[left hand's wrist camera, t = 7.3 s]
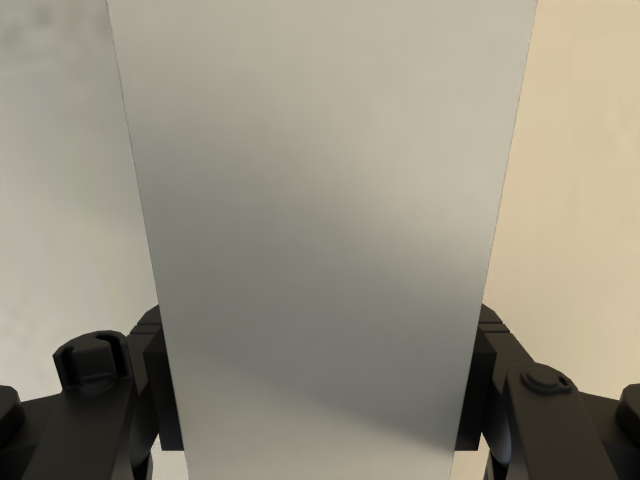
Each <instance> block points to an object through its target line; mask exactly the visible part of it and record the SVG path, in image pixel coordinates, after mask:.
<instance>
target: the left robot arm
mask: <svg viewBox="0 0 640 480" xmlns="http://www.w3.org/2000/svg"><path fill="white" fill-rule="evenodd" d="M52 356H53V359H54V362H55V366H56V369H57V372H58V376H59V379H60V382H61V385H62V392H61V393H59V394H56V395H52V396H47V397H43V398H38V399H33V400H29V401H24V402H21V401H20V398H19V396H18V393H17V391H16V390H15V389H14V388H12V387H11V386H3V385H0V480H152V472H153V461H152V455H151V450H150V449H151V447H152V445H153V443H154V441H155V439H156V437H157V435H158V433H159V438H160V443H161V448H162V451H184V446H183V440H182V434H181V429H180V423H179V417H178V411H177V406H176V400H175V394H174V388H173V383H172V377H171V371H170V365H169V360H168V354H167V348H166V342H165V337H164V331H163V325H162V319H161V314H160V308H159V304H158V305H157V306H155V307H153V308H152V309H150V310H149V311H147V312H146V313H145V314H144V315H143V317H142V318H141V319H140V320H139V322H138V323H137V325H135V327H134V328H133V329H132V330H131V332H130V335H127V337H126V336H124V335H123V334H122V333H121V332H117V331H112V330H106V331H96V332H91V333H87V334H84V335H81V336H79V337H76V338H74V339H72V340H70V341H68V342H67V343H65V344H64V345H62V346H61V347H59V348H58V350H57V351H56V352H55V353H54V354H53V355H52ZM481 431H482V433H483V436H484V438H485V440H486V442H487V444H488V446H489V448H490V450H489V455H488V460H487V464H486V469H485V474H484V478H483V480H640V383H639V384H631V385H628V386H627V387H626V388H624V389H623V392H622V394H621V397H620V400H615V399H610V398H605V397H601V396H596V395H591V394H587V393H583V392H580V391H578V389H577V387H576V386H575V385H574V383H573V382H572V381H571V379H569V378H568V377H567V376H565V375H564V374H563V373H561V372H560V371H558V370H556V369H554V368H552V367H549V366H547V365H544V364H540V363H536V362H534V360H533V359H532V358H531V357H530V355H529V354H528V353H527V352H526V350H525V349H524V348H523V347H522V345H521V344H520V343H519V342H518V340H517V339H516V338H515V337H514V335H513V334H512V333H510V330H509V329H508V328H507V327H506V325H505V324H503V322H502V320H501V319H500V318H499V317H498V315H497V314H496V313H495V312H494V311H493V310H492V309H490V308H488V307H487V306H485V305H484V304H482V305H481V310H480V315H479V321H478V326H477V332H476V337H475V342H474V348H473V353H472V359H471V364H470V370H469V375H468V380H467V386H466V391H465V397H464V402H463V407H462V413H461V418H460V424H459V429H458V434H457V440H456V445H455V451H478V446H479V441H480V436H481Z"/></svg>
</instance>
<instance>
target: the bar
mask: <svg viewBox="0 0 640 480" xmlns="http://www.w3.org/2000/svg"><path fill="white" fill-rule="evenodd" d="M537 2H538V0H106V3H107V9H108V15H109V21H110V26H111V32H112V38H113V44H114V49H115V55H116V61H117V67H118V72H119V78H120V84H121V90H122V95H123V101H124V107H125V112H126V118H127V124H128V130H129V135H130V141H131V147H132V153H133V158H134V164H135V170H136V176H137V181H138V187H139V193H140V199H141V204H142V210H143V216H144V222H145V227H146V233H147V239H148V245H149V250H150V256H151V262H152V268H153V273H154V279H155V285H156V291H157V296H158V302H159V308H160V314H161V319H162V325H163V331H164V337H165V342H166V348H167V354H168V360H169V365H170V371H171V377H172V383H173V388H174V394H175V400H176V406H177V411H178V417H179V423H180V429H181V434H182V440H183V446H184V452H185V457H186V463H187V469H188V475H189V480H449V478H450V472H451V467H452V461H453V456H454V451H455V445H456V440H457V434H458V429H459V424H460V418H461V413H462V407H463V402H464V397H465V391H466V386H467V380H468V375H469V370H470V364H471V359H472V353H473V348H474V342H475V337H476V332H477V326H478V321H479V315H480V310H481V305H482V299H483V294H484V288H485V283H486V278H487V272H488V267H489V261H490V256H491V251H492V245H493V240H494V234H495V229H496V223H497V218H498V213H499V207H500V202H501V196H502V191H503V186H504V180H505V175H506V169H507V164H508V159H509V153H510V148H511V142H512V137H513V132H514V126H515V121H516V115H517V110H518V105H519V99H520V94H521V88H522V83H523V77H524V72H525V67H526V61H527V56H528V50H529V45H530V40H531V34H532V29H533V23H534V18H535V13H536V7H537Z"/></svg>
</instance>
